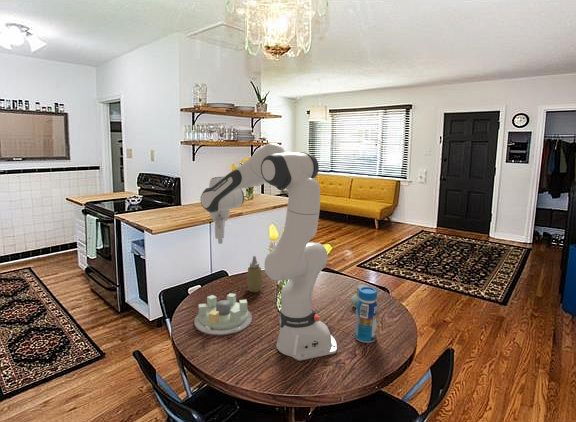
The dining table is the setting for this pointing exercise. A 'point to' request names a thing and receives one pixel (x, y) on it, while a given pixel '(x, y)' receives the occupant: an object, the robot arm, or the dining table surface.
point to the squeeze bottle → (254, 276)
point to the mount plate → (225, 331)
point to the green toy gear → (223, 312)
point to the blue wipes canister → (366, 315)
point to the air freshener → (356, 296)
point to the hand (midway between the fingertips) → (220, 242)
